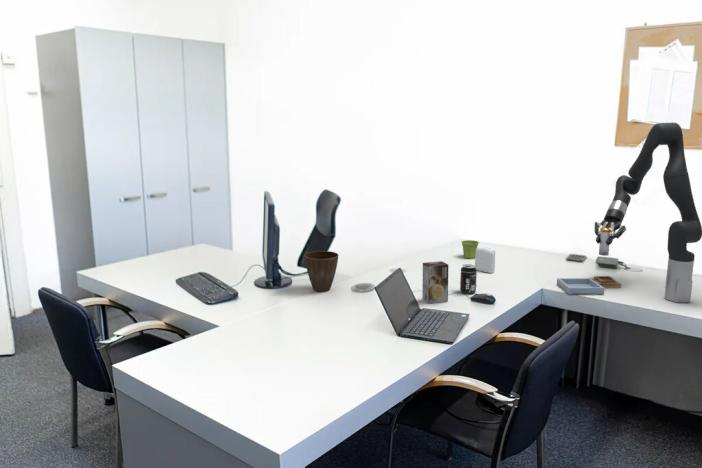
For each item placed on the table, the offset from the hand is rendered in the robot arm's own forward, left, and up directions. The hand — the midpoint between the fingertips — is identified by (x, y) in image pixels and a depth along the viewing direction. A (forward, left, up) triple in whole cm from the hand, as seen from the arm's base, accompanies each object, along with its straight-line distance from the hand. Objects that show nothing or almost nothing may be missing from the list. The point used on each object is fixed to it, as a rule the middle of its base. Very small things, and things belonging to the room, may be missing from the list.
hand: (602, 243), depth 254 cm
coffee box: (-19, +77, -20) cm, 81 cm away
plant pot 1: (-3, +125, -20) cm, 126 cm away
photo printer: (+26, +46, -20) cm, 56 cm away
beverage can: (-8, +61, -20) cm, 64 cm away
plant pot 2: (+53, +48, -20) cm, 74 cm away
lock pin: (+1, -1, -6) cm, 6 cm away
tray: (-5, +11, -20) cm, 23 cm away
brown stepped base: (+2, -3, -20) cm, 20 cm away
